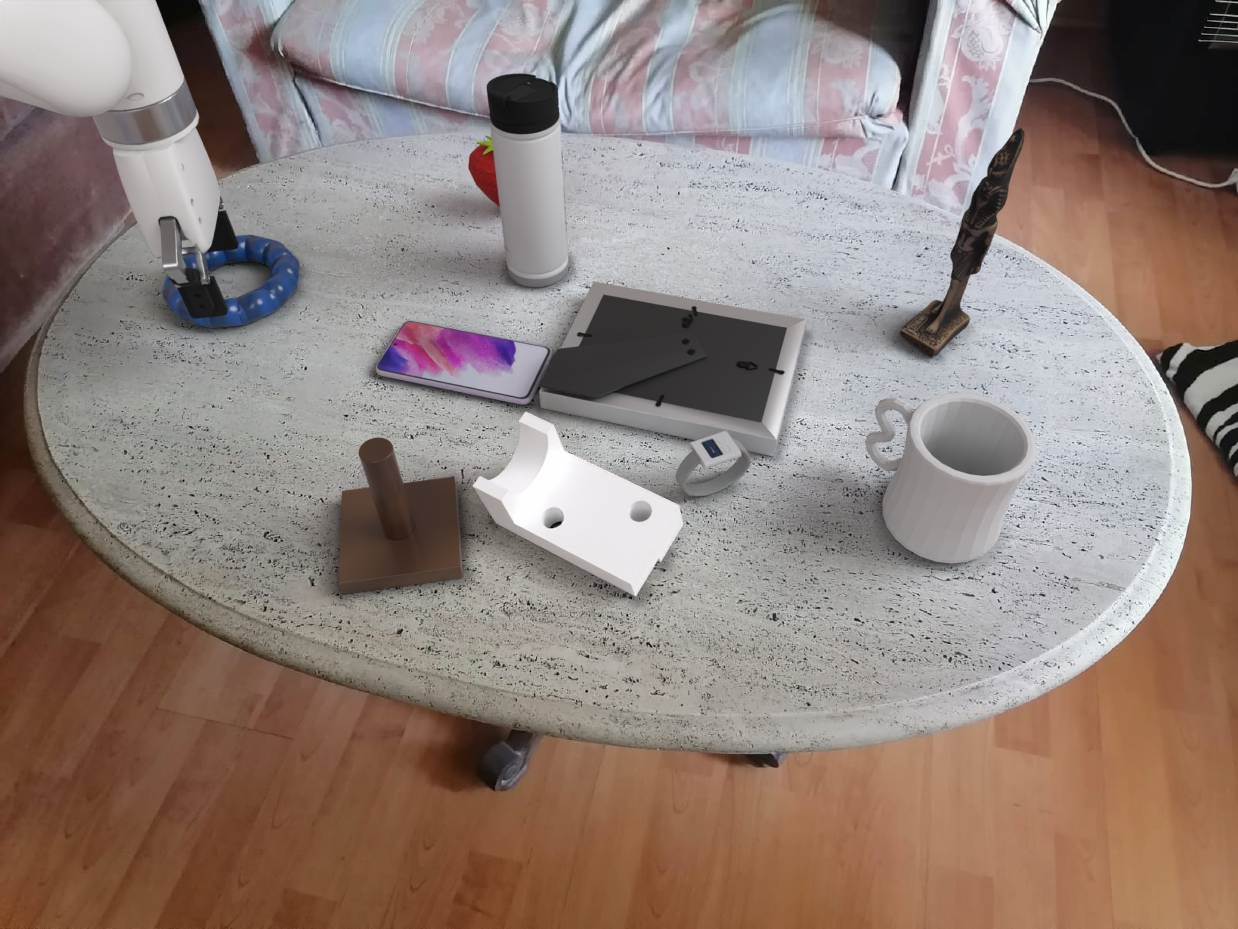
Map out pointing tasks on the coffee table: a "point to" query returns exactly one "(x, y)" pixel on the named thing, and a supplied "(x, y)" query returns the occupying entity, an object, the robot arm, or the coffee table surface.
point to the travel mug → (529, 177)
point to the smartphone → (465, 362)
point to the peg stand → (397, 527)
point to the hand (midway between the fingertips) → (216, 280)
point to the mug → (952, 473)
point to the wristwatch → (713, 463)
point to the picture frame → (676, 366)
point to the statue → (967, 253)
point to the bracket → (580, 509)
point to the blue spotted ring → (253, 302)
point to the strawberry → (484, 169)
